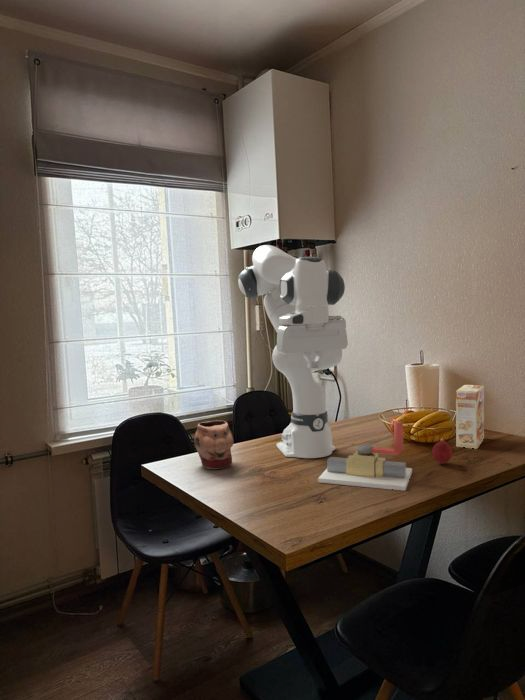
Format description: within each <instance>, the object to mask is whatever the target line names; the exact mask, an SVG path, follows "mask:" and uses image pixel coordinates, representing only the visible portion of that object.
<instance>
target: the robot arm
mask: <svg viewBox="0 0 525 700" xmlns="http://www.w3.org/2000/svg"><path fill="white" fill-rule="evenodd" d="M251 260H252V265H251V266H246V267H245V268H244V270H242V271H241V272H240V274H239V275H238V277H237V281H238V288H239V290H240V291H241V293H242V294H243V295H244V296H245V297H246V298H247V299H257V298H258V297H259V296H264V297H263V305H264V310H265V312H266V315H267V317H268V319H269V321H270V323H271V325H272V326H273V328H274V331H275V332H276V345H275V346H274V348H273V350H272V354H271V356H272V357H271V359H272V363H273V365H274V367H275V369H276V370H277V371H278V372H280V373H282V374H283V376H284V377H285V378H286V379H287V382H288V384H289V386H290V389H291V396H292V408H293V409H292V410H293V411H291V412H290V413H291V414H290V423H289V425H288V426H286V428H284V429H283V431H282V433H280V438H281V441H280V442H277V443H276V447H277V449H279V451H280V453H282V454H283V455H284V456H285V457H287V458H302V459H318V458H319V459H320V458H324V457H325V458H326V457H328V456H331V455H332V454H333V451H335V450H336V446H335V445H333V438H332V429H331V426H330V425H329V424H328V422H329V419H328V418H329V416H328V415H329V414H328V411H327V400H326V398H327V397H326V389H325V387H324V386H323V385H322V384H321V383H319V382H317V381H315V379H314V378H313V374H312V373H313V371H323V370H327V369H330V368H333V367H336V366H338V365H339V364H340V362H341V361H342V357H343V350H345V349H347V347H348V345H349V343H348V342H349V341H348V340H349V339H348V334H347V333H348V332H347V321H346V319H345V318H344V317H343V316H341V315H329V306H334V305H336V304H337V303H339V301H340V300H341V299H342V297H343V296H344V294H345V290H346V289H345V288H346V286H345V281H344V278H343V277H342V275H341V274H340V273H339V272H338V271H337V270H335V269H327V266H326V262H325V260H324V259H323V258H322V257H319V256H301V257H298V258H297V257H294V256H292V255H291V254H289V253H286V252H285V251H284V250H282V249H280V248H279V247H277V246H274V245H271V244H263V245H260V246H258V247H257V248H256V249H255V250H254V251H253V253H252V256H251Z"/></svg>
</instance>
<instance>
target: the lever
mask: <svg viewBox="0 0 525 700" xmlns="http://www.w3.org/2000/svg"><path fill="white" fill-rule="evenodd" d="M393 446H394V447H393V448H387V447H376V446H373V445H370V444H361V445H358V446H357V449H358V453H361V454H371V453H378V454H382V455H383V454H384V455H391V456H392V455H394V456H399V455H400V453H401V452H404V423H403V421H398V420H396V421H393Z"/></svg>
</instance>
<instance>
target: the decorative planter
mask: <svg viewBox="0 0 525 700" xmlns="http://www.w3.org/2000/svg"><path fill="white" fill-rule="evenodd" d="M193 437H194V438H193V443H194V446H195V448H196V450H197V454H198V456H199V458H200V462H201V466H202V467H203V468H205V469H207V470H219V469H226V468H229V467H231V465H232V464H233V463H232V462H233V457H232V456H233V455H232V452H231V450H232V447H233V446H234V441H235V440H234V438H233V437H234V436H233V433H232V431H231V428H230V426H229V424H228V422H227V421H224V420H210V421H204V422H199V423H198V424H197V427H196V431H195V434H194V436H193Z"/></svg>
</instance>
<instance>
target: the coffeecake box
mask: <svg viewBox="0 0 525 700" xmlns="http://www.w3.org/2000/svg"><path fill="white" fill-rule="evenodd" d="M455 412H456V413H455V417H456V418H455V421H456V422H455V423H456V424H455V425H456V427H455V428H456V429H455V433H456V436H455V437H456V440H455V441H456V442H455V446H456V448H463V447H465V449H472V448H474V449H473V450H477V449H478V448H479V447H480V445H481V444H482V442H483V441H484V440H483V439H485V385H480V384H479V385H478V384H464V385H462V386H461V387H459V388H457V390H456V391H455Z"/></svg>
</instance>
